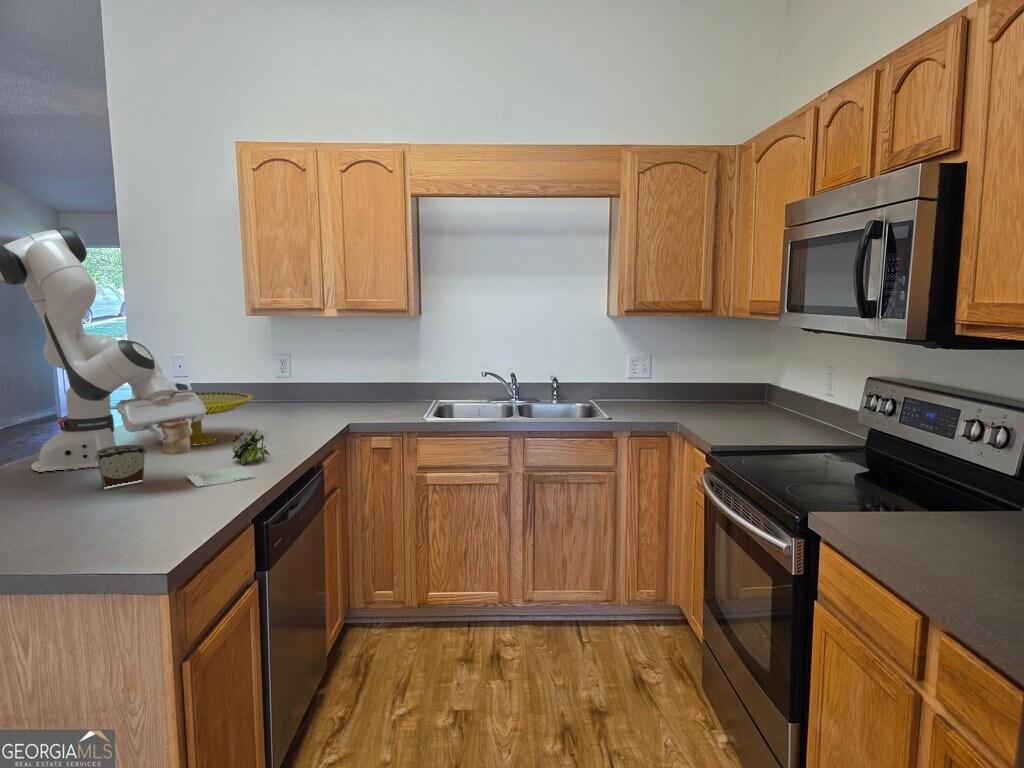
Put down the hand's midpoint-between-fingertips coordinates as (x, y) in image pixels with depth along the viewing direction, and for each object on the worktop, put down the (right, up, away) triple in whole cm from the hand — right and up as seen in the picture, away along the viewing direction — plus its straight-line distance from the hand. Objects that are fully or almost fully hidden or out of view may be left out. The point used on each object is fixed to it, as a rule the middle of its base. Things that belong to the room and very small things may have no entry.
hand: (177, 436), depth 168 cm
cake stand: (-24, -7, +59) cm, 64 cm away
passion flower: (+7, -10, +32) cm, 34 cm away
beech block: (-1, -4, +1) cm, 4 cm away
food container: (-19, -14, +6) cm, 24 cm away
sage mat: (+5, -13, +13) cm, 19 cm away
